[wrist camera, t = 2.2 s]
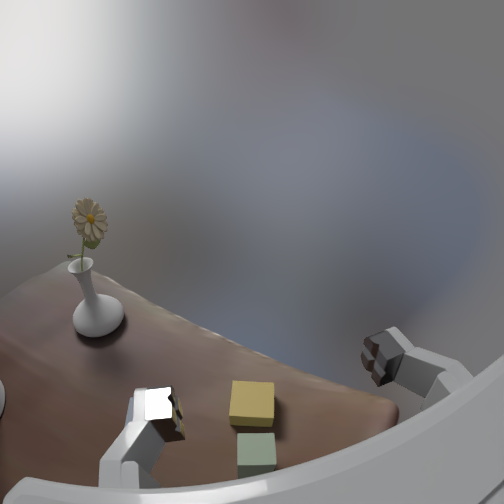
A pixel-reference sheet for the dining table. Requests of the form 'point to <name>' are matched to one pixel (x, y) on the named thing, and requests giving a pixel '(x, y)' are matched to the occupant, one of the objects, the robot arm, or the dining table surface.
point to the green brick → (256, 454)
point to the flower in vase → (94, 305)
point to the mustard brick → (252, 404)
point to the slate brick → (130, 412)
